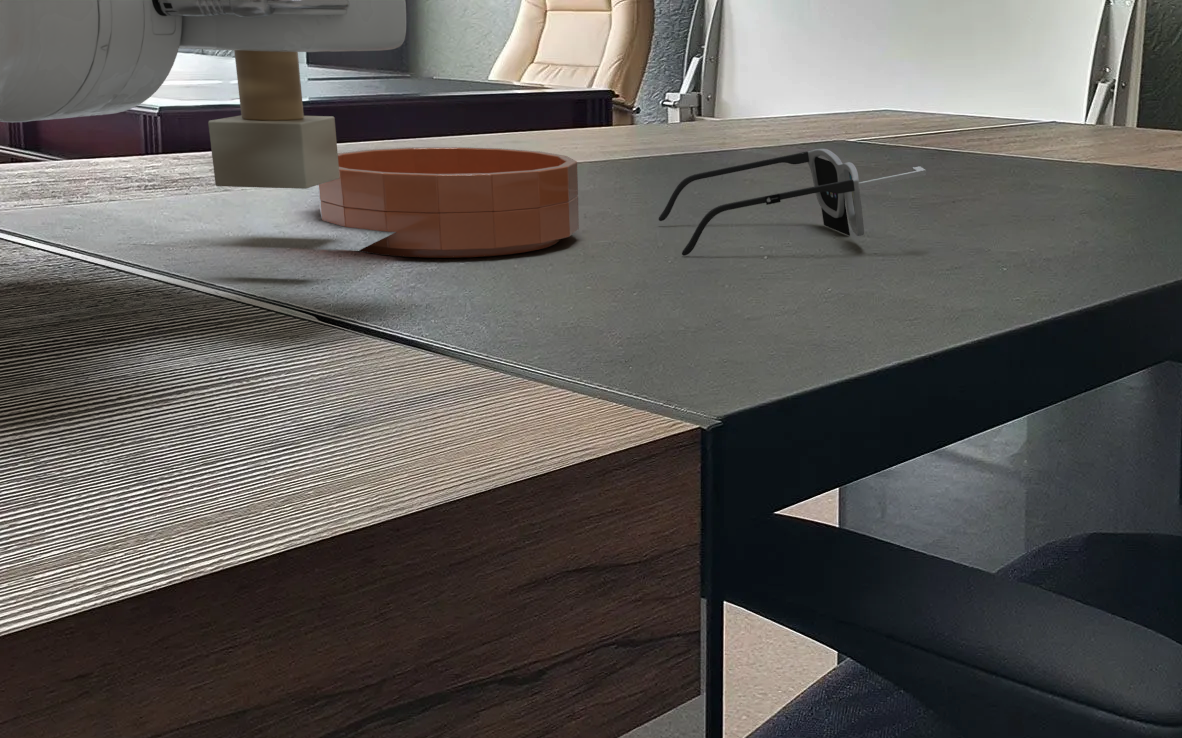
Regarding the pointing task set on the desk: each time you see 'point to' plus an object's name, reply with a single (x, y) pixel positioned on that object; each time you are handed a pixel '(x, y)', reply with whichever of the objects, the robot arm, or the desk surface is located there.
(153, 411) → the desk surface
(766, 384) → the desk surface
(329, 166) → the brush
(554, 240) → the bowl
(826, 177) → the smart glasses
